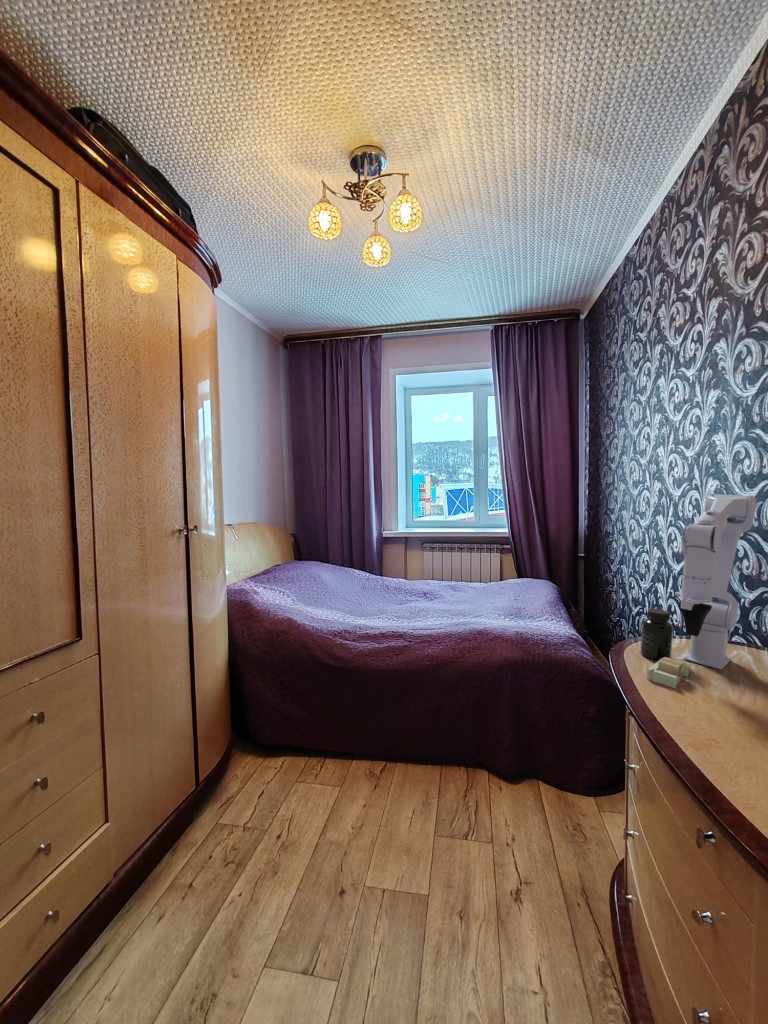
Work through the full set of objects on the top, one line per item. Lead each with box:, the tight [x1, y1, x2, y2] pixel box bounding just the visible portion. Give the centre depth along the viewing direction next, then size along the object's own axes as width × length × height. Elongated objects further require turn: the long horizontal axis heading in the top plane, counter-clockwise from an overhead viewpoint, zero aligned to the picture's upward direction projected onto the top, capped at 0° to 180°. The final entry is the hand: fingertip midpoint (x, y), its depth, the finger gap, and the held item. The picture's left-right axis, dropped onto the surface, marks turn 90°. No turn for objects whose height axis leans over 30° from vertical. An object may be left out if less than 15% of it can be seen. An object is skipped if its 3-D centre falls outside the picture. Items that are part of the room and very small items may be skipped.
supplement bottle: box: [640, 608, 674, 662], centre depth 116 cm, size 7×7×12 cm
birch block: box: [657, 657, 685, 684], centre depth 104 cm, size 4×4×4 cm
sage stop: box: [646, 659, 690, 689], centre depth 104 cm, size 10×6×2 cm, turn 131°
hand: (692, 634), depth 103 cm, fingers closed
